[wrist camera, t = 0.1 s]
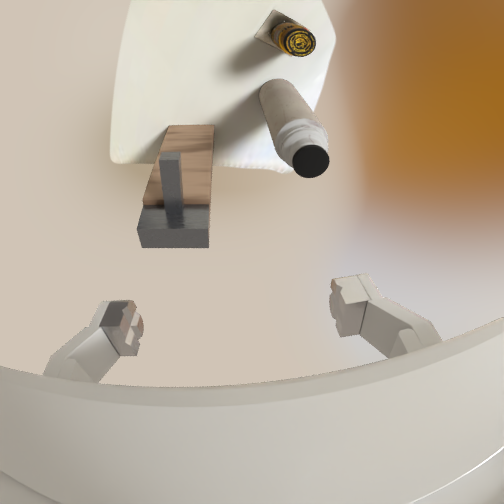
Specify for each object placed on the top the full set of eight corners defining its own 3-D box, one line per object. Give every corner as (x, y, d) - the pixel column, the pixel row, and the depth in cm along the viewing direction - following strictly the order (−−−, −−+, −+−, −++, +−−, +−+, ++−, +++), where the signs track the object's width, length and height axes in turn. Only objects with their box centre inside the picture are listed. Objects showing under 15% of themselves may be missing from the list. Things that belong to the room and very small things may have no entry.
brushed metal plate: (134, 153, 32) (123, 175, 29) (209, 151, 34) (208, 173, 30) (147, 223, 42) (142, 247, 39) (209, 223, 43) (208, 248, 40)
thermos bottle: (289, 115, 56) (325, 193, 38) (254, 107, 53) (272, 182, 36) (301, 84, 50) (351, 147, 32) (265, 74, 48) (294, 130, 30)
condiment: (291, 56, 45) (306, 68, 37) (254, 36, 41) (261, 43, 33) (310, 30, 40) (330, 37, 32) (273, 9, 36) (285, 9, 29)
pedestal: (169, 125, 55) (142, 199, 38) (214, 124, 56) (209, 199, 40) (170, 148, 59) (148, 228, 43) (213, 147, 61) (209, 228, 44)
